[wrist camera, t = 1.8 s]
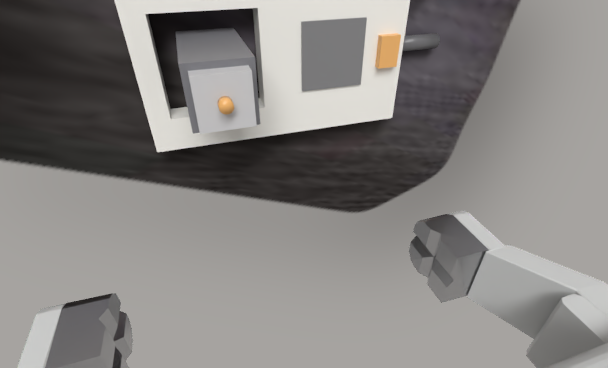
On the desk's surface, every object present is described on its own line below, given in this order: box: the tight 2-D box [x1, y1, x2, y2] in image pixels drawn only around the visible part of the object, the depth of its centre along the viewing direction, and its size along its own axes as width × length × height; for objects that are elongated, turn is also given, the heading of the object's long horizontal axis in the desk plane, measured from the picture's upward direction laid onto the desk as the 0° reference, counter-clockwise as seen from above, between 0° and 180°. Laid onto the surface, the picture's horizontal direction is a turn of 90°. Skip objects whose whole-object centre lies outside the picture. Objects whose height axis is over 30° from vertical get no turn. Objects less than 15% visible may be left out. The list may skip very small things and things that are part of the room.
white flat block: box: [115, 0, 440, 152], centre depth 27 cm, size 24×12×3 cm, turn 91°
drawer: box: [175, 28, 260, 134], centre depth 22 cm, size 4×4×10 cm
